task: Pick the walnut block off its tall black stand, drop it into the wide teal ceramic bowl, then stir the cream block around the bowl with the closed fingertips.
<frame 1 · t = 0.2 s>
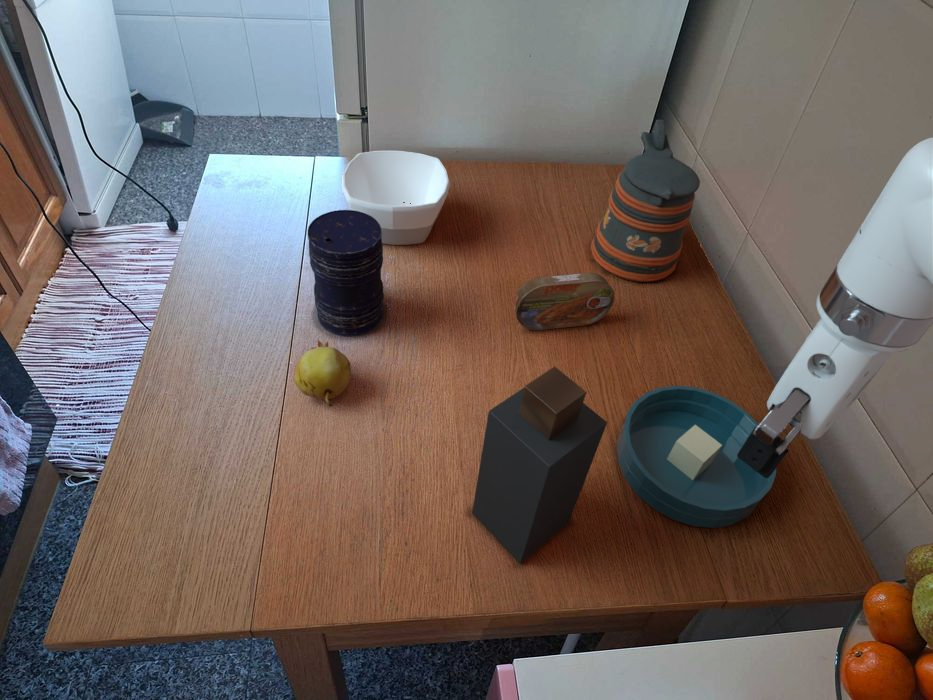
hand: (780, 439, 61), 19 cm above the table, tool pointing down, fingers open, 9 cm apart
beer stein: (630, 249, 113), on the table
tin: (558, 322, 98), on the table
bowl: (396, 225, 112), on the table
cream block: (688, 461, 81), resting on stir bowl
storage jar: (350, 314, 96), on the table
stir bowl: (687, 463, 82), on the table
stand: (520, 518, 74), on the table
fruit: (324, 390, 86), on the table
walnut block: (548, 416, 61), point 19 cm above the table, touching stand
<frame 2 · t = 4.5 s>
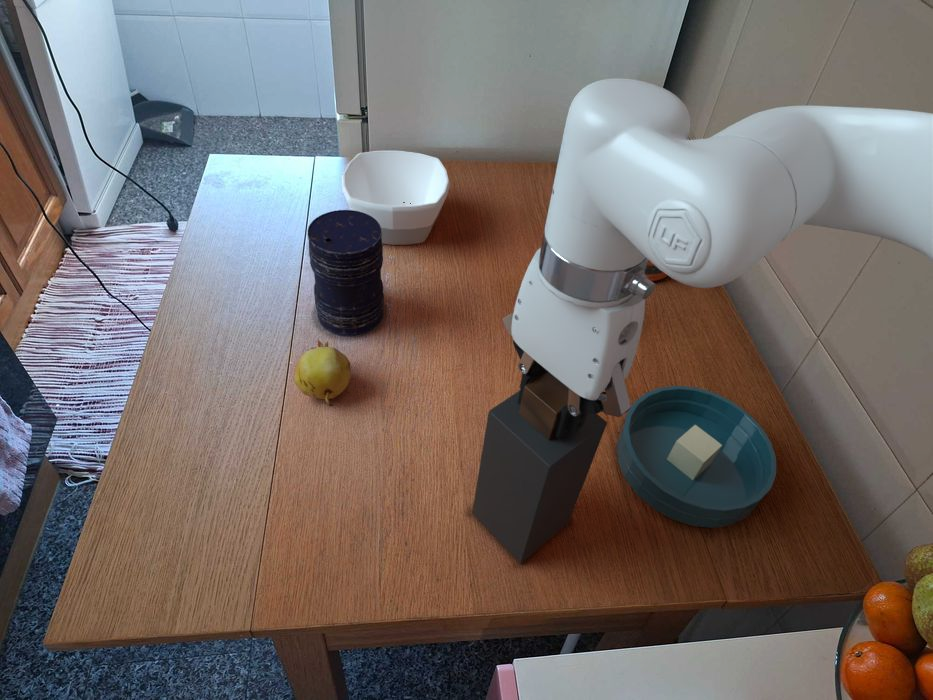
hand: (549, 412, 60), 20 cm above the table, tool pointing down, fingers closed on walnut block, 4 cm apart
walnut block: (548, 416, 61), point 19 cm above the table, touching gripper, stand
everything else where it was.
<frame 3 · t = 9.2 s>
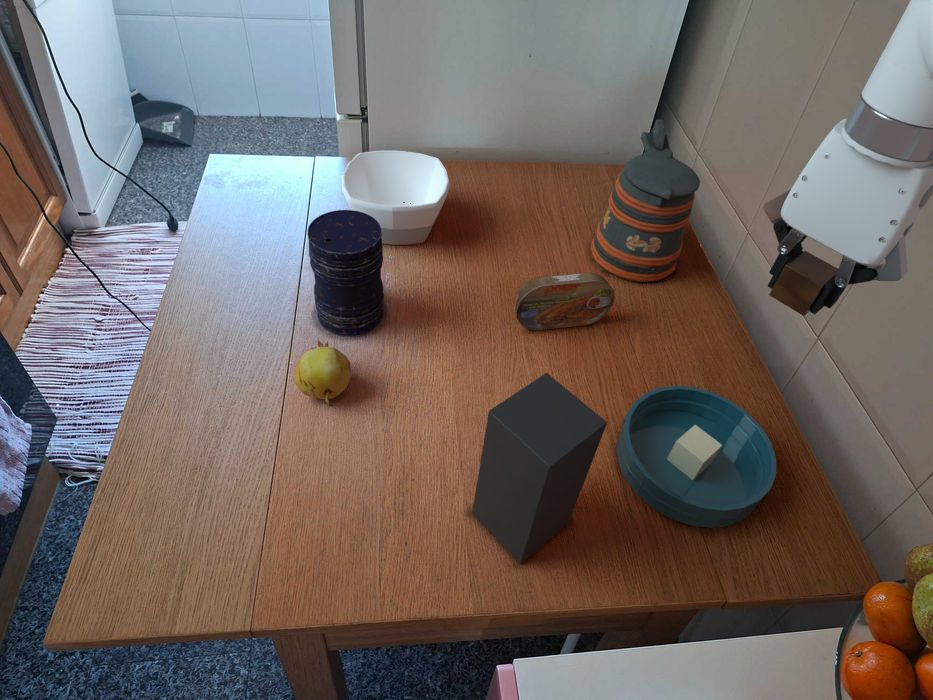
hand: (798, 293, 66), 26 cm above the table, tool pointing down, fingers closed on walnut block, 4 cm apart
walnut block: (795, 297, 67), point 25 cm above the table, touching gripper
everything else where it was.
when the fingers open (1 cm above the table, at t = 14.5 s): walnut block stays where it is, resting on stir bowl.
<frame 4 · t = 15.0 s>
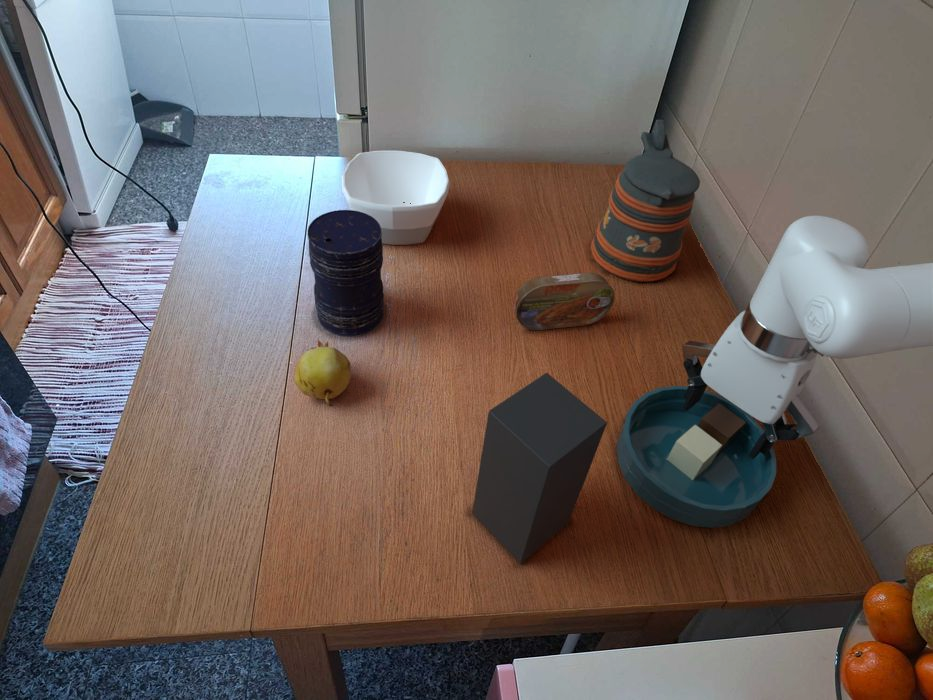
hand: (722, 427, 81), 4 cm above the table, tool pointing down, fingers open, 9 cm apart
walnut block: (712, 438, 84), resting on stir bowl
everything else where it was.
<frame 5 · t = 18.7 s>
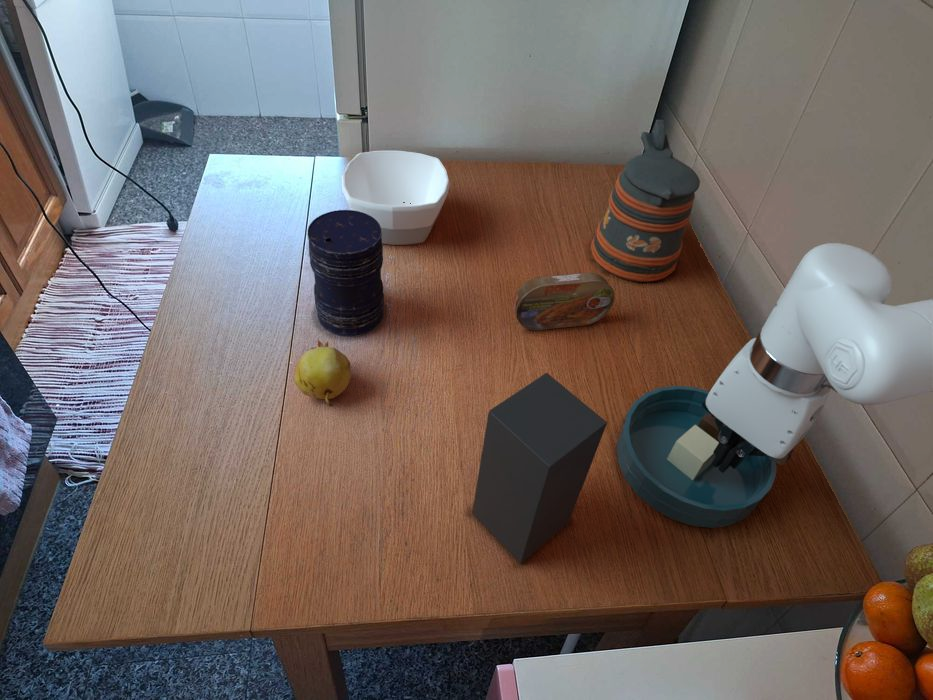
hand: (723, 462, 78), 4 cm above the table, tool pointing down, fingers closed
cream block: (688, 461, 81), resting on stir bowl, touching gripper
everything else where it was.
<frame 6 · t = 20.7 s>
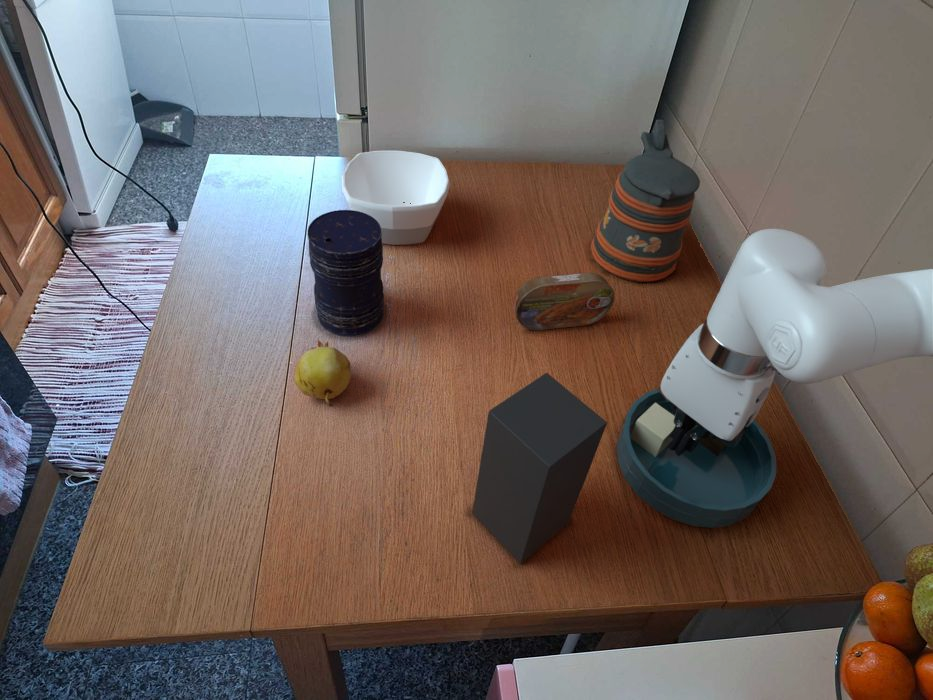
hand: (680, 446, 79), 3 cm above the table, tool pointing down, fingers closed
cream block: (651, 438, 83), point 1 cm above the table, touching gripper, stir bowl
everything else where it was.
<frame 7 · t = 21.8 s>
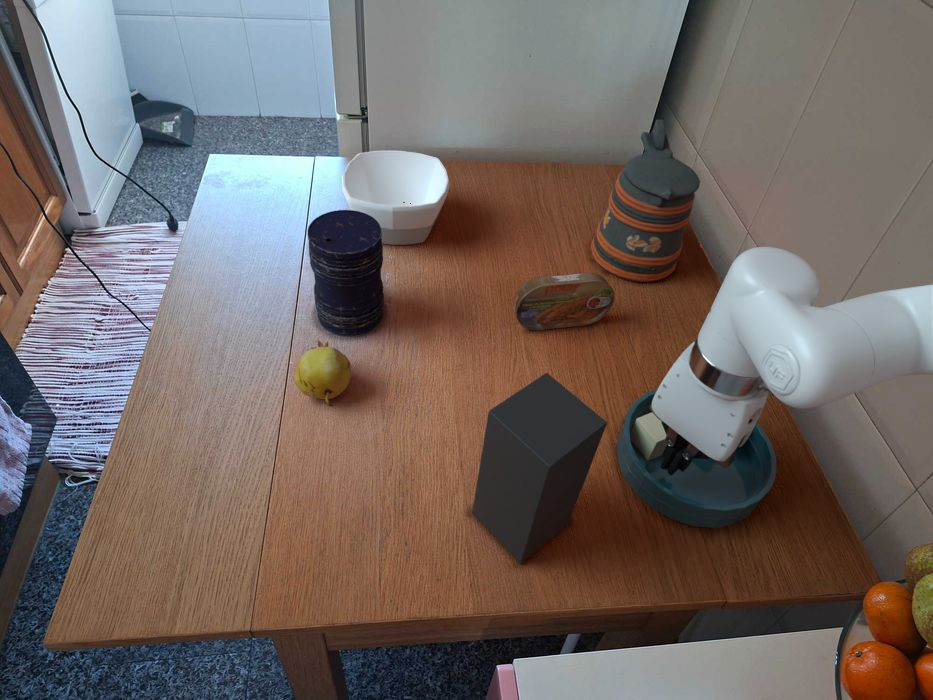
hand: (672, 465, 78), 3 cm above the table, tool pointing down, fingers closed
cream block: (650, 443, 83), point 1 cm above the table, touching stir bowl
everything else where it was.
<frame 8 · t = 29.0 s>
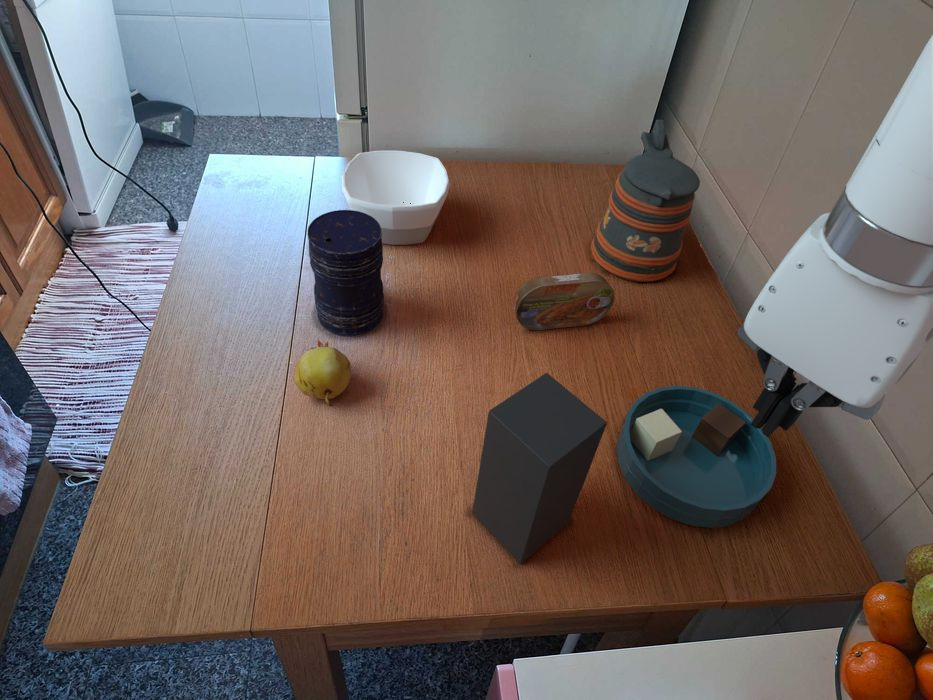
hand: (768, 422, 52), 27 cm above the table, tool pointing down, fingers closed
nothing on the table moved.
at the end: cream block moved 5.1 cm from its start; cream block inside the target area in the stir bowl (5.1 cm from its centre), point 0.5 cm above the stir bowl's base; walnut block inside the target area in the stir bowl (5.6 cm from its centre), point 0.5 cm above the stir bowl's base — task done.
